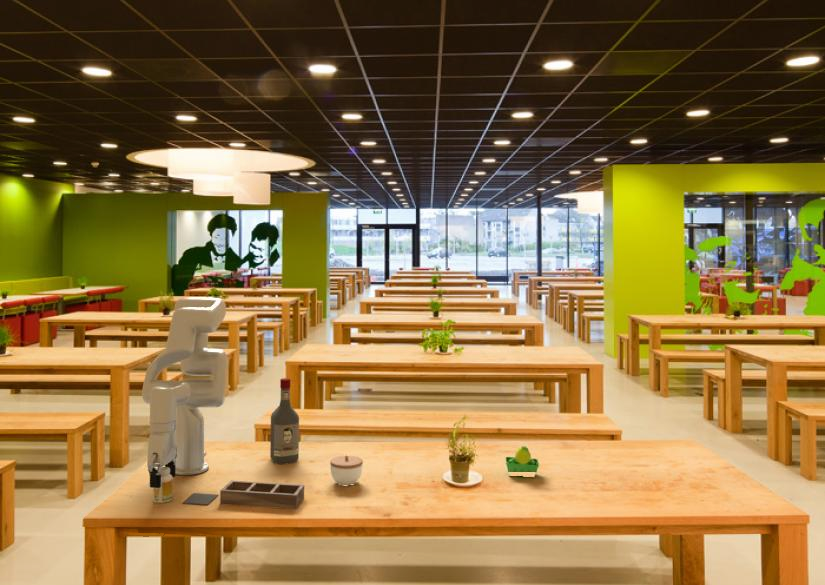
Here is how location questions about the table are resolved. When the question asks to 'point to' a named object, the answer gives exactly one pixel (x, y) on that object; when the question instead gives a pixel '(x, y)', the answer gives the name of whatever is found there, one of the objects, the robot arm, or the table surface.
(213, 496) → the mat
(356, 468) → the lidded jar
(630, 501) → the table surface
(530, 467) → the fruit basket
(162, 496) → the supplement bottle
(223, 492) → the rack
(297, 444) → the liquor
